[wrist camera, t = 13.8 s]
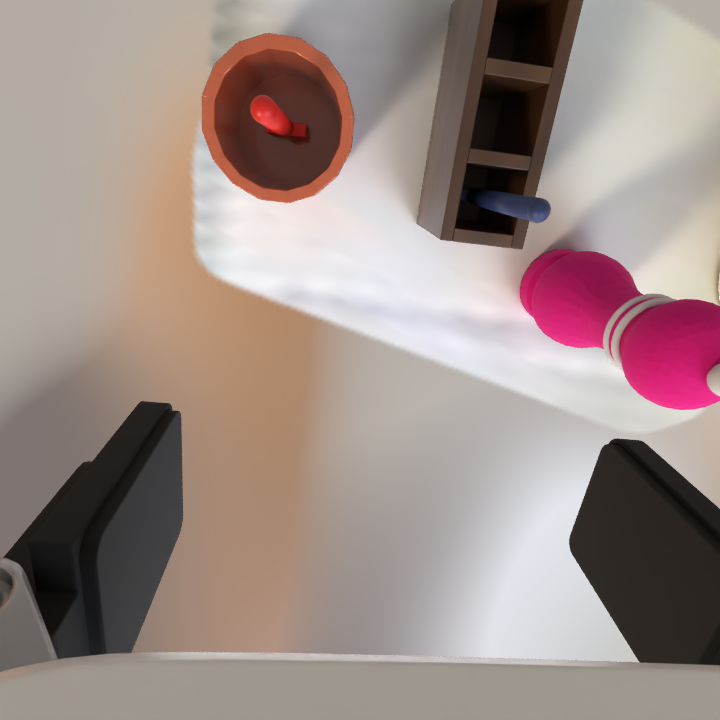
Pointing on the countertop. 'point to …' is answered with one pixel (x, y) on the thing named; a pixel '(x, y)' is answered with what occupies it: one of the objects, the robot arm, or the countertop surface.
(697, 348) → the pepper mill
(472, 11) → the caddy
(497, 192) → the blue rounded rod
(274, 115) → the red toy mallet
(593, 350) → the countertop surface
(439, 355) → the countertop surface
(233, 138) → the crock
